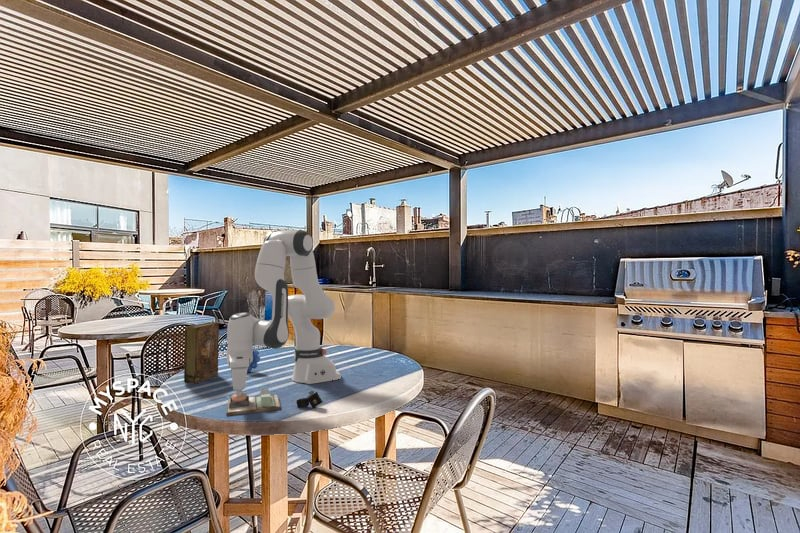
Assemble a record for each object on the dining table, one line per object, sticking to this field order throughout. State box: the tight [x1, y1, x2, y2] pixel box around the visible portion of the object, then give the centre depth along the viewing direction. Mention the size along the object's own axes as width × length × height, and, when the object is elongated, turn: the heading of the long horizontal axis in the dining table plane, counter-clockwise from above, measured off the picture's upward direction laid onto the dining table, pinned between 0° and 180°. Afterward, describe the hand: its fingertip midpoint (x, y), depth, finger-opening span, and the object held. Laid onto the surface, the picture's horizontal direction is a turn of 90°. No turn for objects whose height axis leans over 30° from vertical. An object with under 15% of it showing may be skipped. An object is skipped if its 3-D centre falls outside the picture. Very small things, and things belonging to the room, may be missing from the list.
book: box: [183, 321, 220, 385], centre depth 176 cm, size 16×6×25 cm, turn 168°
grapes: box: [247, 348, 261, 373], centre depth 190 cm, size 12×7×12 cm, turn 87°
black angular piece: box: [295, 390, 324, 409], centre depth 142 cm, size 9×2×6 cm
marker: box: [259, 388, 271, 406], centre depth 145 cm, size 3×10×3 cm, turn 22°
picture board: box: [226, 393, 282, 416], centre depth 143 cm, size 18×14×3 cm
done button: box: [231, 392, 248, 402], centre depth 142 cm, size 5×5×2 cm
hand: (239, 395), depth 141 cm, fingers closed, pressing on done button
